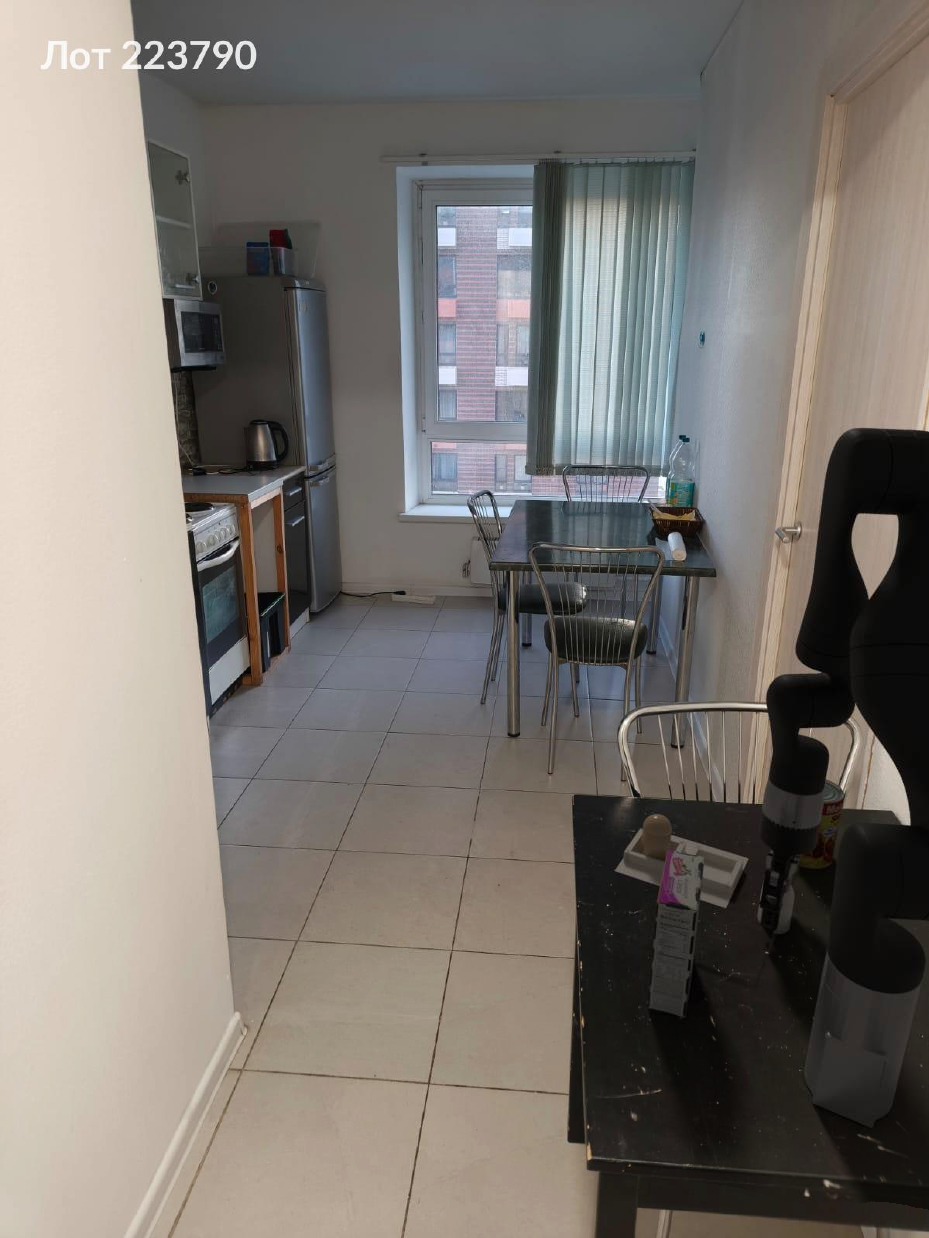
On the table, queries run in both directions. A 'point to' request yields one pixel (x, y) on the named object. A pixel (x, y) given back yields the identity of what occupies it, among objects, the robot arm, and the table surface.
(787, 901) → the white capsule
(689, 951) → the candy bar box
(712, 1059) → the table surface
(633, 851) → the white holder tray
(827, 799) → the canned food
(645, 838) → the tan capsule
